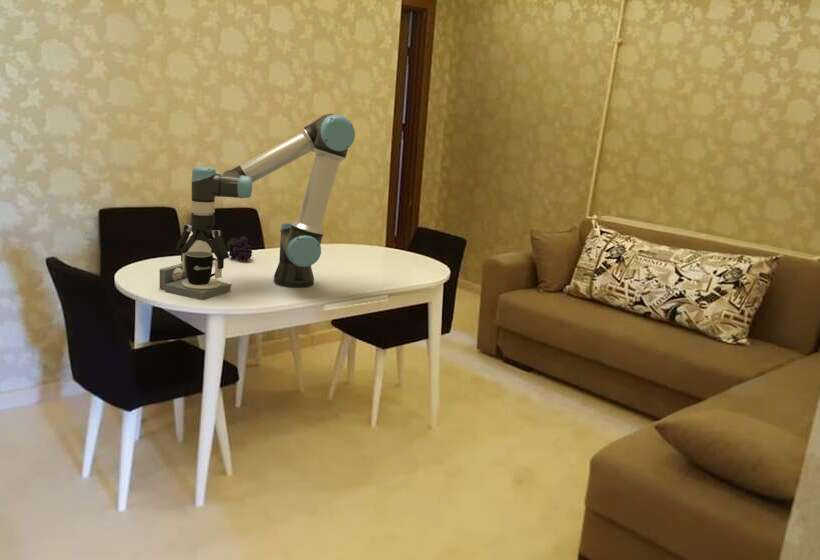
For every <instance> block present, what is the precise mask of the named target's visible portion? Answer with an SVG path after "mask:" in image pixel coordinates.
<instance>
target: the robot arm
mask: <svg viewBox="0 0 820 560" xmlns="http://www.w3.org/2000/svg"><path fill="white" fill-rule="evenodd" d="M355 138H356V131H355V127H354V125H353V124H352V121H350V120H349V119H348V118H347V117H345V116H343V115H342V114H341V115H340V114H333V113H328V114H327V113H326V114H324V115H322V116H320V117H318V118H316V119H315V120H314V121H313V122H310V123H309V124H308V125H306V126H304V127H302V129H301V132H299V133H298V134H295V135H294V136H292V137H290V138H287V139H286V140H285V141H284V140H283V142H281V143H278V144H277V145H275V146H273V147H271V148H269V149H267V150H265V151H264V152H261V153H260V154H258V155H256V156H255V157H252V158H250V159H248V160H247V161H244V162H243V163H241V164H240V165H238V166H236V167H233V168H232V169H227V170H226V171H224V172H223V173H222V174H220V173H217V172H216V171H217V170H216V168H215V167H208V166H194V167H193V168H192V171H191V202H190V203H191V204H190V205H191V207H190V212H191V216H190V223H189V224H184V225H183V230H182V233H181V236H180V238H179V240H178V242H177V245H176V247H175V249H176V251H179V252H180V262H182V263H181V264H182V272H186V262H185V254H186V253H187V252H188V250H189V249H190V248H191V246H192V245H193V244H194V243H195V241H196V240H201V241H204V242H205V241H206V243H207V244H209V246H210V248H211V249H212V251H211V252H213V253H212V254H213V255H214V256H215V257H216V260H214V273H215V276H214V279H217V280H219V279H220V278H222V275H223V269H224V265H225V264H224V261H225V260H226V259H229V258H230V256H229V251H228V249H227V247H226V243H225V240H224V238H223V232H222V230H221V229H217V230H214V226H215V215H214V213H215V210H216V208H215V207H216V204H215V202H216V197H219V198H220V197H222V198H223V197H224V198H236V199H250V198H251V197H252V195H253V183H255V182H256V181H258V180H260V179H262V178H264V177H266V176H268V175H269V174H271V173H273V172H276V171H277V170H279V169H281V168H283V167H285V166H286V165H288V164H290V163H292V162H294V161H296V160H298V159H299V158H303V156H305V155H307V154H309V153H311V152H314V153H315V157H314V161H313V163H312V167H311V172H310V175H309V178H308V181H307V185H306V189H305V193H304V196H303V200H302V203H301V207H300V211H299V213H298V217H297V220H295V221H294V222H283V223H282V224H281V225H280V231H279V232H280V243H279V261H278V265H277V267H276V269H275V273H274V276H273V283H274V284H275V285H278V286H280V287H287V288H296V289H297V288H308V287H311V286H313V285H315V277H314V276H315V275H314V273H313V268H312V265H315V264H316V263H317V262H318V261H319V259H320V257H321V255H322V246H321V243H322V241H323V237H324V230H323V229H322V224H323V221H324V217H325V214H326V210H327V207H328V204H329V201H330V198H331V197H330V196H331V193H332V190H333V186H334V183H335V179H336V177H337V174H338V173H337V172H338V169H339V166H340V163H341V162H342V161H344V160H345V159H346V158H347V155H348V152H349V151H348V150H349V148H351V146H352V145H353V143H354V142H355ZM191 231H192V233H193V234H192V235H191V237H190V239H189V240H188V241H187V239H188V237H189V235H190V233H191ZM213 234H214V235H213ZM213 236H215V238H214V237H213ZM210 239H211V240H210ZM186 241H187V242H186Z"/></svg>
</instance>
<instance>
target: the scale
mask: <svg viewBox="0 0 820 560" xmlns="http://www.w3.org/2000/svg"><path fill="white" fill-rule="evenodd" d="M159 290H163V291H164V292H165V293H170V294H173V295H178V296H183V297H188V298H192V299H195V298H196V300H200V299H201V301H204V300H205V301H206V300H208V299H211V298H213V297H216V296H219V295H223V294H226V293H229V292H231V283H227V282H223V281H221V280H220V279H215V278H214V277H213V278H212V277H211V278H210V281H209V283H208V284H205V285H194V284H190V283H189V281H188V278H187V273H186V272H182V263H179V264H176V265H171V266H167V267H163V268H159Z"/></svg>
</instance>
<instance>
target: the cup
mask: <svg viewBox="0 0 820 560" xmlns="http://www.w3.org/2000/svg"><path fill="white" fill-rule="evenodd" d="M192 234H193V233H192V231H191V233H190V235H189V237H188V239H187V241H188V240H189V239H190V237H191V235H192ZM213 235H214V234H213ZM213 237H214V238H215V236H213ZM210 240H211V239H210ZM187 241H186V242H187ZM191 251H204V252H210V253H212V252H213V251H212V249H211V248H210V246H209V244H207V243H206V241H205V242H204V241H201V240H196V241H195V243H194V244H193V245H192V246H191V248H190V249H189V250H188V252H191Z"/></svg>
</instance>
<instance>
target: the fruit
mask: <svg viewBox="0 0 820 560" xmlns="http://www.w3.org/2000/svg"><path fill="white" fill-rule="evenodd" d="M248 243H249V238H247V236H243V235H242V236H240V237H239V238H238V237H235V238H234V237H232V238H230V240H229V241H228V242H227V243H226V245H227V247H228V249H227V252H228V254H229V257H231V259H237V260H238V261H240V262H242V263H243V262H248V261H249V260H250V259H251V257H252V256H253V250H252V248H251V247H252V245H250V244H248Z"/></svg>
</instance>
